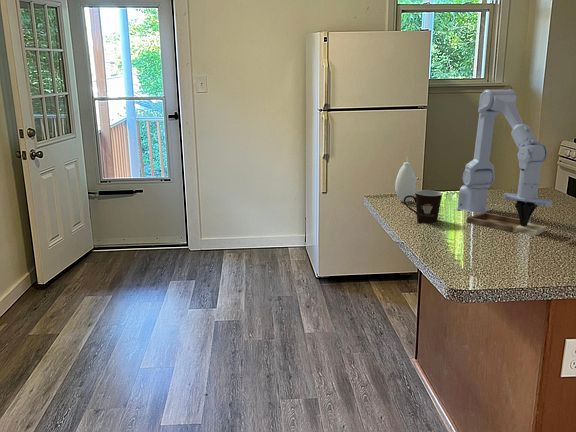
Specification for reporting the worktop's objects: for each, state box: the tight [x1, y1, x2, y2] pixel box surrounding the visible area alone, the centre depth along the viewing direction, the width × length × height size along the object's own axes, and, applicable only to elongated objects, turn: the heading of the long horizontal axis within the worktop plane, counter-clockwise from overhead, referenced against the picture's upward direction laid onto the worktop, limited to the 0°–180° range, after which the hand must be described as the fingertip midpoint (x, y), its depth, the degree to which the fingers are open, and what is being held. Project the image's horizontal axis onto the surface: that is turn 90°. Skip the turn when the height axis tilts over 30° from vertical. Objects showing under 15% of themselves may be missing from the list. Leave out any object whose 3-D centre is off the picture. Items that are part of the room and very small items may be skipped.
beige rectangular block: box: [514, 222, 547, 237], centre depth 169 cm, size 6×8×2 cm
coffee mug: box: [403, 189, 443, 224], centre depth 181 cm, size 12×9×10 cm
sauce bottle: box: [394, 155, 417, 203], centre depth 208 cm, size 8×8×18 cm
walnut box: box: [466, 211, 520, 233], centre depth 177 cm, size 15×11×2 cm
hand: (523, 225), depth 170 cm, fingers closed
